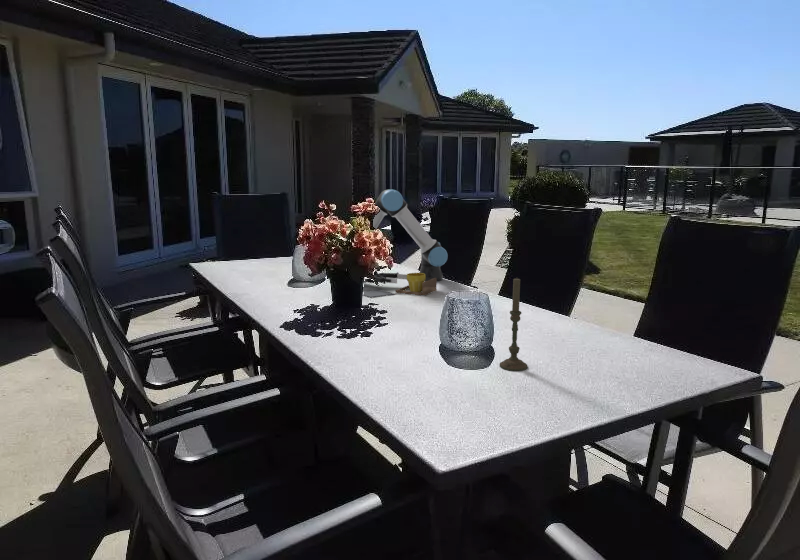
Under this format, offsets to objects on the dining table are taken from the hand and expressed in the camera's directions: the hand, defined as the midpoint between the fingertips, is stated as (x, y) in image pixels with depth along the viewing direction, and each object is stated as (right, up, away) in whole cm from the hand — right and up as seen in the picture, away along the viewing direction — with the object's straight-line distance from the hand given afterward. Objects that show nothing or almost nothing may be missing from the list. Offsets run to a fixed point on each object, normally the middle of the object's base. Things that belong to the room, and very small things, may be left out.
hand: (402, 279), depth 308 cm
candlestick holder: (+36, -29, -125) cm, 133 cm away
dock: (+7, -7, -2) cm, 10 cm away
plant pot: (+7, -7, -2) cm, 11 cm away
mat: (-15, -8, -8) cm, 19 cm away
